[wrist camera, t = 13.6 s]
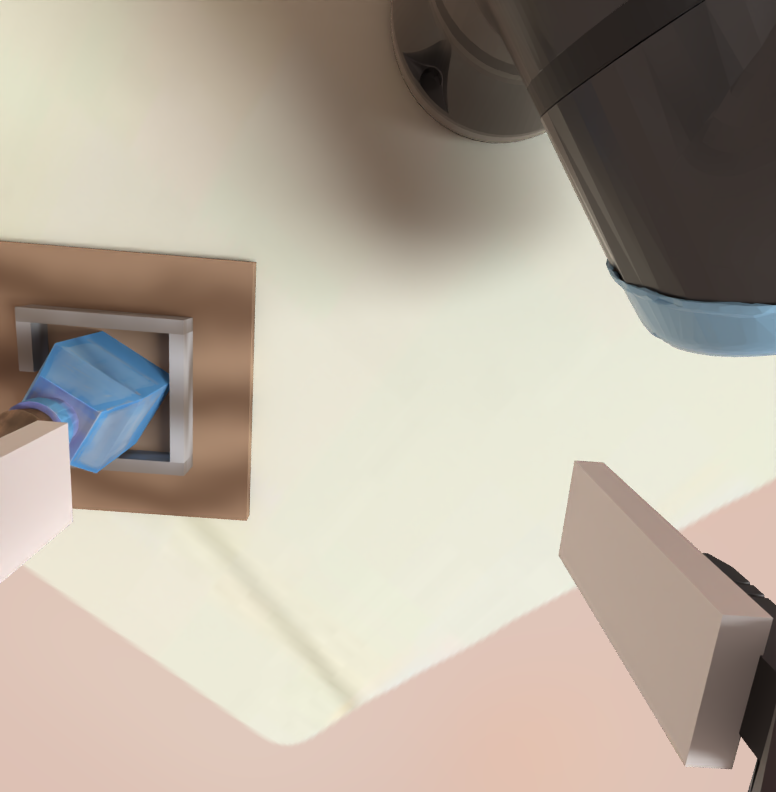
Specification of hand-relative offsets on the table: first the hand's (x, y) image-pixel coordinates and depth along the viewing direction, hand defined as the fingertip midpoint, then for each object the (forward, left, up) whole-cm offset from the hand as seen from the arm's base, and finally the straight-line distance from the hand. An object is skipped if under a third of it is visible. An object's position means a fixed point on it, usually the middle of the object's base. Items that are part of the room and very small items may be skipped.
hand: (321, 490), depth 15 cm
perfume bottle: (+5, -18, -28) cm, 33 cm away
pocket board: (+5, -18, -29) cm, 34 cm away
